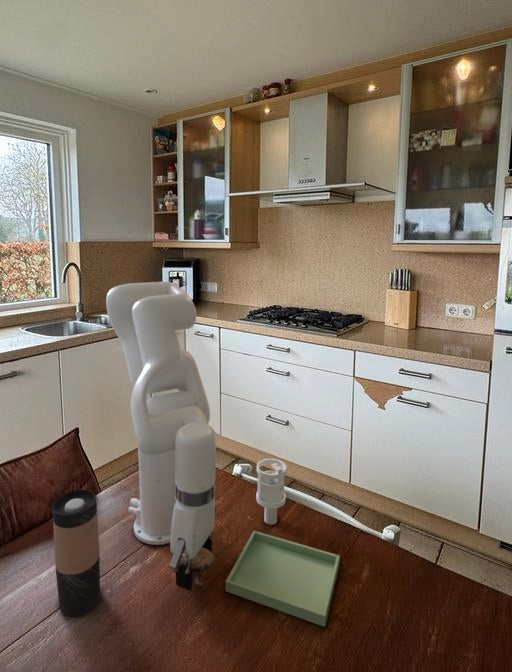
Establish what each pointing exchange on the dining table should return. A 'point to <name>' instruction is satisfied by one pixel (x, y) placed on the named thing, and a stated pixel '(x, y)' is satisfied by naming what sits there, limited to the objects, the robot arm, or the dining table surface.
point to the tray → (285, 577)
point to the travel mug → (76, 552)
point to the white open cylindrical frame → (271, 489)
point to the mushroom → (200, 564)
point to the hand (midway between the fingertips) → (194, 570)
